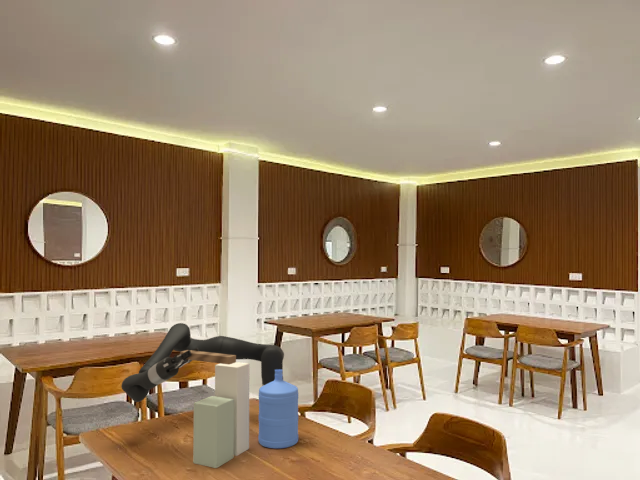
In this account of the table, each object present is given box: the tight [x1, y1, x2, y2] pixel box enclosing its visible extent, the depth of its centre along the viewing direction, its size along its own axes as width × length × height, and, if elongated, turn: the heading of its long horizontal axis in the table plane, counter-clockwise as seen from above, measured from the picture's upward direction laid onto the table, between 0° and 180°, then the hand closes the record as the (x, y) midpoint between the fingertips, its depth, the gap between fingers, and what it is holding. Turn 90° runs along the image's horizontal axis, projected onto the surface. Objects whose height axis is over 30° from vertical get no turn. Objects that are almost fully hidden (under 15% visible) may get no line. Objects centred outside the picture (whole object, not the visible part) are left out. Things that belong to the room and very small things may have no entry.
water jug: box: [257, 369, 299, 449], centre depth 201 cm, size 16×16×28 cm
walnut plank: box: [179, 350, 237, 364], centre depth 184 cm, size 22×4×2 cm, turn 64°
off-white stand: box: [214, 361, 250, 457], centre depth 192 cm, size 10×8×32 cm
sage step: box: [192, 395, 234, 469], centre depth 182 cm, size 10×10×21 cm
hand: (194, 351), depth 187 cm, fingers closed on walnut plank, 4 cm apart
